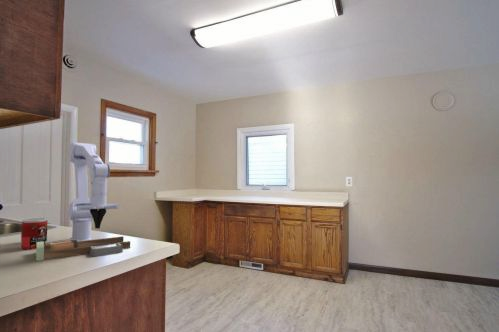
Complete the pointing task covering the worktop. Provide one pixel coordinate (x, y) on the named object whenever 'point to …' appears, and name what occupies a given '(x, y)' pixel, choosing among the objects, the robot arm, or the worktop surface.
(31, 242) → the canned food
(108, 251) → the traps
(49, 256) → the track
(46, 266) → the worktop surface
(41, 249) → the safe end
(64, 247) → the block
